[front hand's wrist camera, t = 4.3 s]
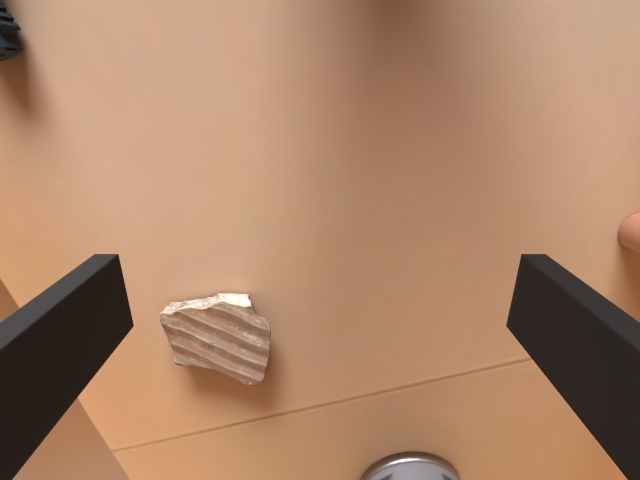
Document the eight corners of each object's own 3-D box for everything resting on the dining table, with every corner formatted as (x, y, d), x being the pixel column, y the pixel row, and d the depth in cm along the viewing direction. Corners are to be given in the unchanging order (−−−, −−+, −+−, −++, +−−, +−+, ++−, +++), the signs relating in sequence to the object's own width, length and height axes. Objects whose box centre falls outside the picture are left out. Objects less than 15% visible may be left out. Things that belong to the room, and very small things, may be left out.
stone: (278, 299, 44) (276, 310, 42) (265, 378, 49) (262, 392, 46) (168, 280, 44) (159, 291, 41) (165, 362, 48) (156, 376, 46)
